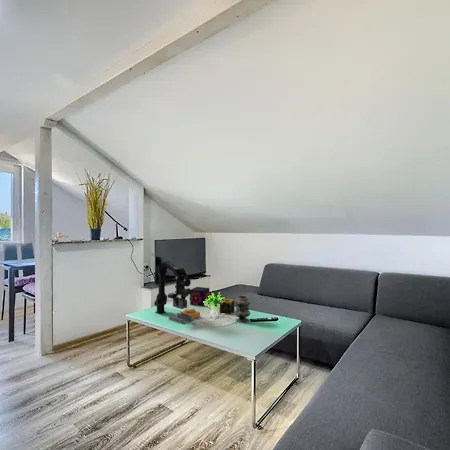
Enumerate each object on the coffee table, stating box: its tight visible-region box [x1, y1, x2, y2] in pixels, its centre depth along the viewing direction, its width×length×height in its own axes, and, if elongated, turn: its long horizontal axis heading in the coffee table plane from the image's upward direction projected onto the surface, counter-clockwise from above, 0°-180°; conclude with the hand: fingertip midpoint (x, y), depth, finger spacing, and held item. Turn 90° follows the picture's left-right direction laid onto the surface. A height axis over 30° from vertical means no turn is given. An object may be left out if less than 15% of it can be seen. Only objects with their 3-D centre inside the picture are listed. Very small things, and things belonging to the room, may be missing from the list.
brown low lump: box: [179, 307, 201, 320], centre depth 237 cm, size 12×10×6 cm
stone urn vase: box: [233, 295, 251, 323], centre depth 227 cm, size 12×12×18 cm
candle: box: [219, 298, 236, 315], centre depth 248 cm, size 10×10×10 cm
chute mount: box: [168, 312, 193, 325], centre depth 230 cm, size 16×10×3 cm, turn 48°
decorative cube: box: [189, 286, 211, 307], centre depth 276 cm, size 16×16×14 cm
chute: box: [172, 297, 188, 310], centre depth 229 cm, size 11×5×6 cm, turn 48°
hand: (179, 305), depth 229 cm, fingers closed on chute, 5 cm apart
